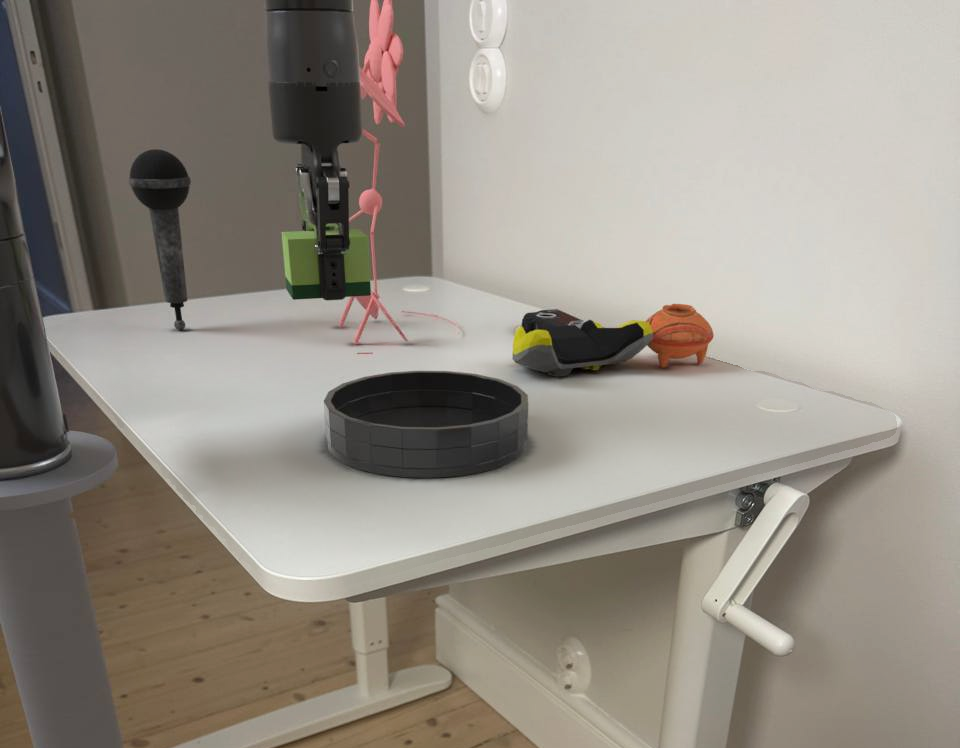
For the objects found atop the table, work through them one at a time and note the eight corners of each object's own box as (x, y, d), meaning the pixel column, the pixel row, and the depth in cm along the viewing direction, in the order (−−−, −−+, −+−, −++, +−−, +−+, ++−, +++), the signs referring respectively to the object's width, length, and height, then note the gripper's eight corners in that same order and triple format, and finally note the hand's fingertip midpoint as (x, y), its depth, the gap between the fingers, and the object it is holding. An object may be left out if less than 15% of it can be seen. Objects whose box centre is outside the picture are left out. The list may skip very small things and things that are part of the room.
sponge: (292, 299, 87) (287, 239, 84) (286, 290, 91) (281, 231, 88) (371, 295, 89) (368, 236, 86) (361, 286, 92) (358, 229, 90)
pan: (347, 487, 76) (344, 437, 74) (314, 421, 91) (310, 377, 89) (555, 466, 81) (557, 419, 79) (492, 406, 95) (493, 365, 93)
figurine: (362, 362, 109) (342, -18, 91) (320, 314, 130) (298, -2, 112) (493, 353, 113) (499, -13, 95) (432, 307, 134) (428, 1, 117)
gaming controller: (656, 374, 106) (608, 353, 113) (662, 322, 103) (612, 303, 111) (532, 390, 100) (490, 366, 108) (534, 334, 97) (491, 314, 105)
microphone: (139, 332, 120) (110, 149, 110) (177, 321, 125) (152, 146, 115) (184, 339, 117) (158, 152, 107) (220, 327, 123) (199, 148, 113)
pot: (705, 351, 113) (716, 294, 109) (708, 385, 108) (719, 327, 103) (635, 346, 114) (643, 289, 109) (635, 379, 108) (643, 321, 104)
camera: (548, 325, 114) (514, 308, 123) (549, 349, 116) (515, 331, 125) (598, 317, 116) (560, 301, 125) (598, 341, 117) (561, 323, 126)
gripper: (259, 76, 86) (278, 281, 95) (277, 78, 74) (298, 312, 83) (344, 76, 88) (355, 277, 96) (376, 78, 76) (385, 307, 85)
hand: (329, 292), depth 90 cm, fingers closed on sponge, 4 cm apart
